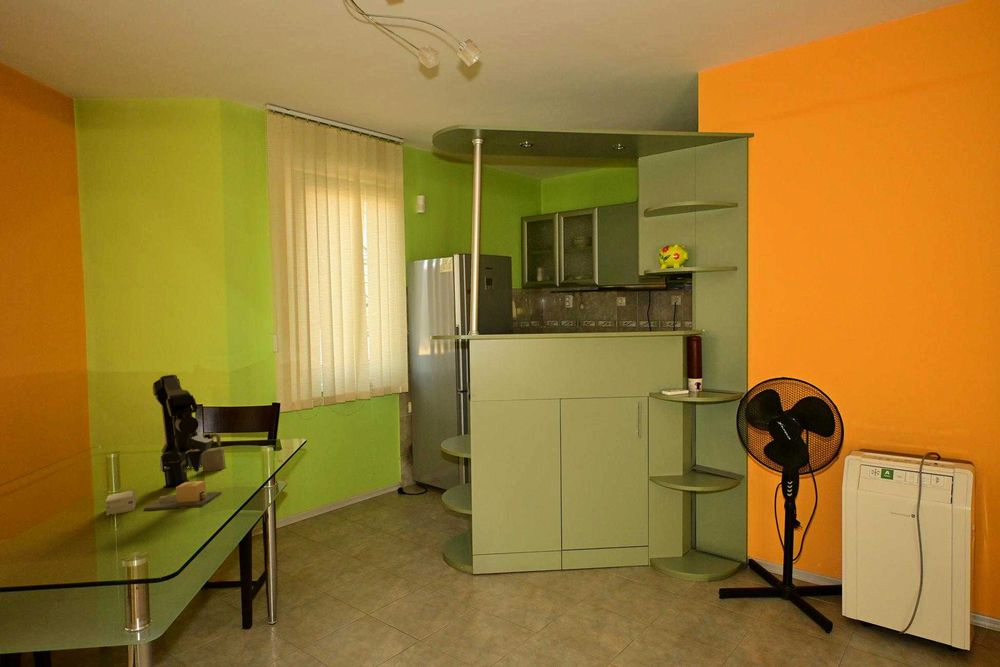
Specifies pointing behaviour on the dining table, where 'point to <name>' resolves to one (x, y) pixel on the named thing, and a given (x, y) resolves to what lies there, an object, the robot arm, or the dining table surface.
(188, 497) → the block
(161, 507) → the plate
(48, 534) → the dining table surface
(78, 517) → the dining table surface
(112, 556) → the dining table surface
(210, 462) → the padlock
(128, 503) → the small box
